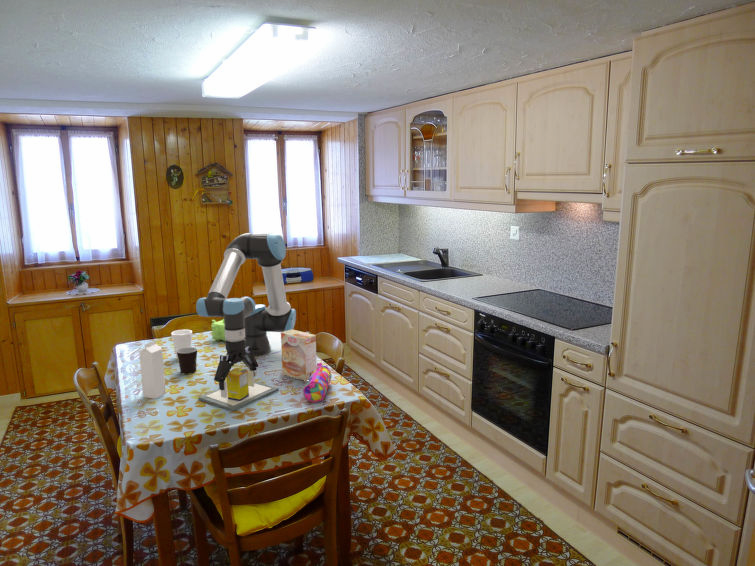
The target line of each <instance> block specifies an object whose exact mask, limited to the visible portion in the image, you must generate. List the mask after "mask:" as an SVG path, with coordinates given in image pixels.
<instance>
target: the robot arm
mask: <svg viewBox="0 0 755 566" xmlns="http://www.w3.org/2000/svg"><path fill="white" fill-rule="evenodd" d="M286 249H287V247H286V242H285V240H284V237H283V236H282V235H281V234H279V233H273V232H269V233H267V232H265V233H264V232H263V233H260V232H257V233H255V232H254V233H253V232H246V233H243V234H241V235H239V236H236V237H235V238H234V239H233V240H232V241H231V242H230V243H228V245H227V246H226V249H225V250H224V253H223V260H222V263H221V265H220V268H219V269H218V271H217V274H216V276H215V278H214V280H213V282H212V283H211V286H210V289H209V291H208V293H207V296H206V297H200V298H198V299H197V301H196V305H195V306H196V307H195V309H196V312H197V315H198V316H199V317H205V318H213V317H214V318H223V319H224V326H225V327H224V328H225V339H226V341H225V342H224V345H225V350H226V354H220V355H219V362H218V366H217V367H216V370H215V371H216V372H215V374H214V378H213V381H215V382H218V389H220V390H221V397H223V398H227V375H228V373H229V371H231V370H232V367H234V365H235V364H238V363H240V362H242V363H243V364H244V366H246V367H247V370H248V386H251V387H254V381H255V377H256V373H255V372H256V371H257V370H258V368H259V362H258V361H257V358H256V357H255V356H261V355H265V354H268V353H270V352H271V350H272V346H271V343H270V341H269V338H268V335H267V332H269V333H270V332H272V333H281V332H284V331H288V330H291V329H293V330H294V327H295V325H296V321H297V310H296V309H295V308H292V306H291V304H290V303H289V302H288V301H287V295H286V290H285V289H286V288H285V283H284V277H283V270H282V265H281V264H282V263H283V261H284V259H285V258H286V254H287V250H286ZM246 260H256V262H257V266H259V267H261V269H262V274H263V279H264V285H265V290H266V295H267V296H266V297H267V301H268V306H266V304H256V301H255V300H254V299H253V298H252V297H249V296H242V297H240V298H239V297H231V298H228V296H229V294H230V291H231V289H232V287H233V284H234V282H235V279H236V277H237V276H238V275H237V274H238V273H239V270H240V268H241V265H243V264H244V263H245V262H246Z"/></svg>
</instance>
